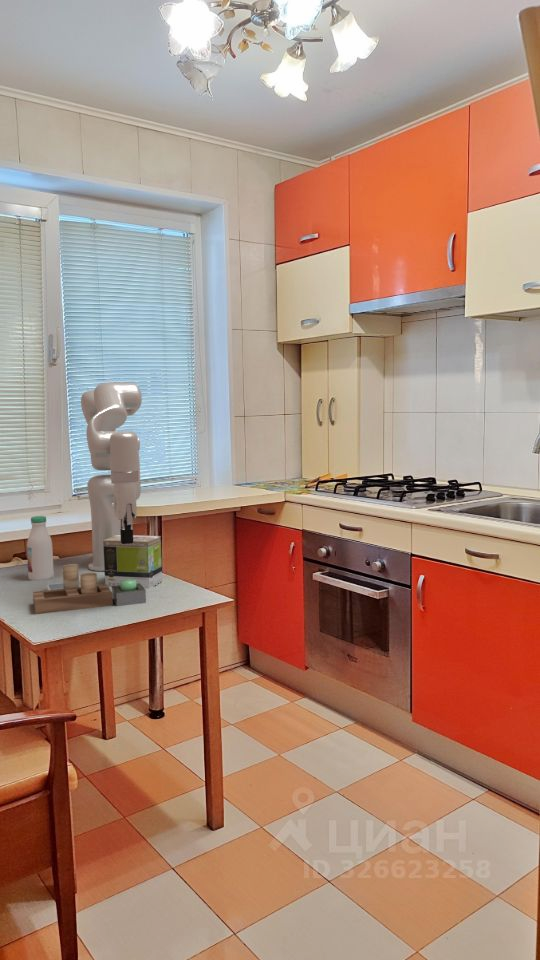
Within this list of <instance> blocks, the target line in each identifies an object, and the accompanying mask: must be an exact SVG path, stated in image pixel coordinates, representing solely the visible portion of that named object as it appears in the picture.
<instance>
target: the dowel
mask: <svg viewBox="0 0 540 960" xmlns="http://www.w3.org/2000/svg"><path fill="white" fill-rule="evenodd" d="M79 576H80V573H79V564H77V563H69V564H64V565H62V581H63V582H62V583H63V587H64V589H65V588H74V587H79V581H80V577H79Z"/></svg>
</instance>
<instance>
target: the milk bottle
mask: <svg viewBox="0 0 540 960" xmlns="http://www.w3.org/2000/svg"><path fill="white" fill-rule="evenodd" d="M30 522H31V523H30V524H31V530H30V533H29V535H28V538H27V542H26V543H27V544H26V553H27V574H28V579H29V581H43V580H44V581H45V580H50V579H53V578H54V576H55V575H54V573H55V572H54V571H55V569H54V553H53V540H52V537H51V535H50V534H49V531H48V529H47V526H46V524H47V517H46V515H45V516H44V515H35V516H31V517H30Z"/></svg>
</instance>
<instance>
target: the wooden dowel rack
mask: <svg viewBox="0 0 540 960" xmlns="http://www.w3.org/2000/svg"><path fill="white" fill-rule="evenodd" d="M32 598H33V599H32V601H33V607H34V613H35V615H40V614H49V613H58V612H59V613H60V612H67V611H68V612H69V611H75V610H85V609H93V608H94V609H95V608H103V607H111V606H113V605H114V604H113V603H114V602H113V599H112V589H111V588H110V586H107V584H105V583H104V584H97V593H88V594H81V587H74V588H65V589H55V590H47V589H46V590H38V591H37V590H36V591H33V592H32Z"/></svg>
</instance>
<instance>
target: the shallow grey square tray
mask: <svg viewBox="0 0 540 960" xmlns="http://www.w3.org/2000/svg"><path fill="white" fill-rule="evenodd" d="M79 587H81V581H80V580H79ZM55 589H64V587H63V582H57V583H50V584H49V583H48V584H46V590H55Z"/></svg>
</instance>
